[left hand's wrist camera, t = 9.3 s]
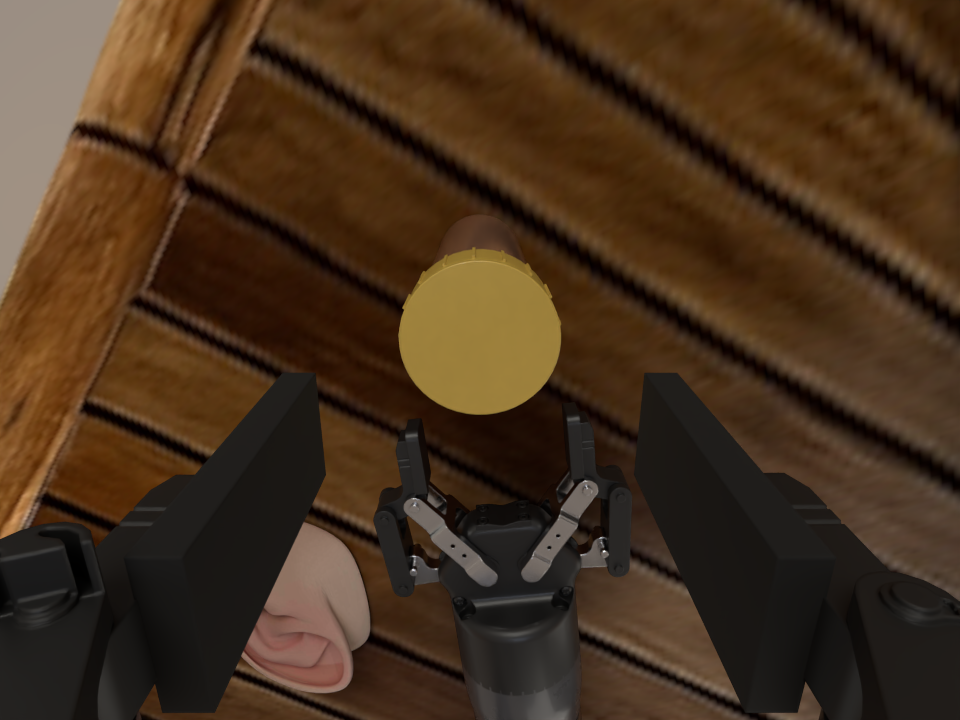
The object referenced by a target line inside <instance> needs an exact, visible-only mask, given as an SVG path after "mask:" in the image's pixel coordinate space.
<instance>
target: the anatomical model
mask: <svg viewBox="0 0 960 720" xmlns="http://www.w3.org/2000/svg"><path fill="white" fill-rule="evenodd" d="M369 633H370V613H369V606H368V601H367V596H366V592H365V588H364V585H363V581H362V578H361V575H360V572H359V569H358V567H357V564H356V562H355V560H354V558H353V556H352V554H351V553H350V551H349V550H348V548H347V547H346V546H345V545H344V544H343V543H342V542H341V541H340V540H339V539H338V538H336V537H335V536H334V535H332V534H330V533H328V532H327V531H325V530H323V529H321V528H318V527H316V526H314V525H311V524H308V523H305V522H304V523H303V525H302V527H301V529H300V531H299V533H298V535H297V538H296V540H295V542H294V544H293V546H292V548H291V550H290V553H289V555H288V557H287V559H286V561H285V563H284V565H283V568H282V570H281V572H280V574H279V576H278V578H277V580H276V583H275V585H274V587H273V589H272V591H271V593H270V595H269V598H268V600H267V602H266V604H265V606H264V608H263V610H262V613H261V615H260V617H259V619H258V621H257V623H256V625H255V628H254V630H253V632H252V634H251V636H250V638H249V640H248V643H247V645H246V647H245V649H244V651H243V653H242V655H241V656H242V658H243V659H244V660H246V661H247V662H248V663H249V664H250V665H251V666H252V667H253V668H255V669H256V670H257V671H258V672H260V673H261V674H263V675H265V676H266V677H268V678H270V679H272V680H274V681H276V682H278V683H280V684H283V685H286V686H288V687H291V688H294V689H297V690H301V691H306V692H314V693H330V692H336V691H340V690H342V689H344V688H345V687H347V685H348V684H349V683H350V681H351V679H352V676H353V657H352V652H351V651H353V650H355V649H357V648H358V647H360V646H361V645H363V644H364V643H365V642H366V640H367V639H368V636H369Z"/></svg>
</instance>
